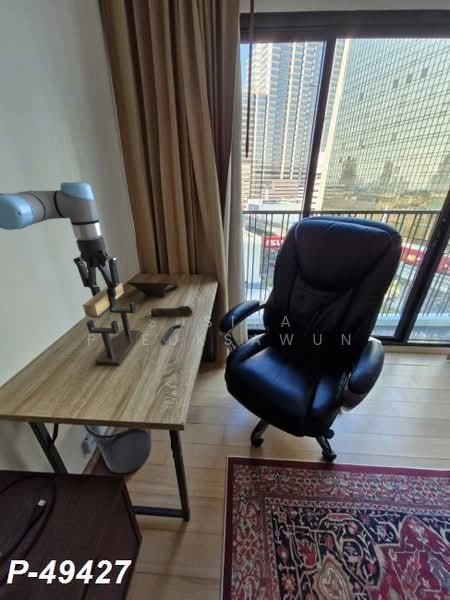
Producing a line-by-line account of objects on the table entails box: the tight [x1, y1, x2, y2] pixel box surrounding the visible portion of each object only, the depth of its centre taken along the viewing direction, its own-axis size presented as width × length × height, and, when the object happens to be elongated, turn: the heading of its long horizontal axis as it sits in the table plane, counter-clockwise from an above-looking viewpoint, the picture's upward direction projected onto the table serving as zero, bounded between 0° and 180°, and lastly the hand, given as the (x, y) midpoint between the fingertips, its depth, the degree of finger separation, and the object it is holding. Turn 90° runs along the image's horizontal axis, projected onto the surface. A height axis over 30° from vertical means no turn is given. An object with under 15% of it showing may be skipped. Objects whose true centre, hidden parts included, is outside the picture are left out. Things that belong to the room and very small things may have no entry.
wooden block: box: [82, 282, 125, 319], centre depth 86 cm, size 4×18×5 cm, turn 175°
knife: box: [162, 323, 182, 345], centre depth 104 cm, size 14×4×1 cm, turn 169°
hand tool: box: [150, 305, 193, 317], centre depth 117 cm, size 19×4×5 cm, turn 88°
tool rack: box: [85, 301, 142, 367], centre depth 93 cm, size 10×20×16 cm, turn 175°
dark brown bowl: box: [126, 281, 180, 298], centre depth 138 cm, size 23×23×9 cm
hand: (107, 305), depth 87 cm, fingers closed on wooden block, 4 cm apart
